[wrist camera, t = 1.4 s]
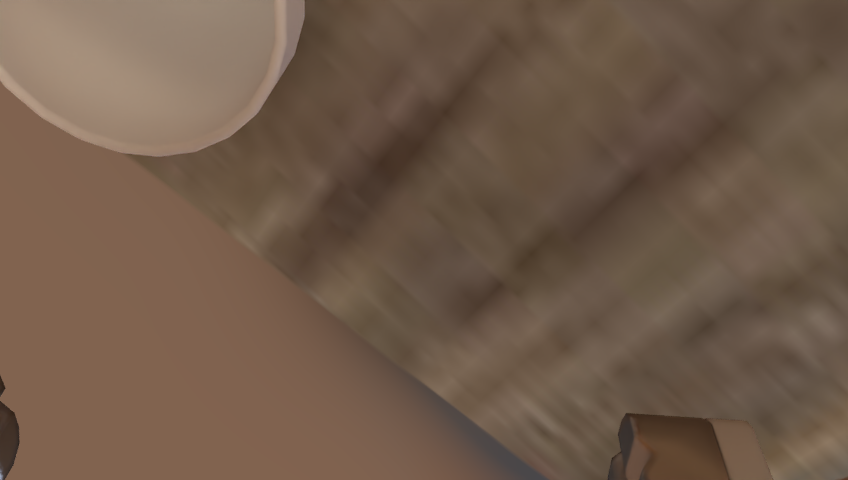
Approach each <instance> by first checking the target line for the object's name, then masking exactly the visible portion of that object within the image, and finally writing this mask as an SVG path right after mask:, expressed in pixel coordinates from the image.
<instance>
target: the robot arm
mask: <svg viewBox="0 0 848 480" xmlns="http://www.w3.org/2000/svg"><path fill="white" fill-rule="evenodd" d="M4 390H5V386H4V383H3V381H2V379H1V376H0V396H1V395H2V393H3V391H4ZM618 436H619V442H620V448H621V452H620V453H618V454H617V455H615V456H614V457H613V458H612V460H611V465H610V469H609V474H608V480H773V478H772V475H771V473H770V470H769V467H768V465H767V462H766V460H765V457H764V455H763V452H762V450H761V447H760V445H759V442H758V439H757V437H756V434H755V432H754V429H753V427H752V426H751V425H750V424H749V423H748V422H747V421H743V420H727V419H711V418H706V419H703V418H695V417H680V416H664V415H649V414H633V413H626V414H625V416H624V417H623V419H622V421H621V425H620V429H619V432H618ZM18 446H19V426H18V423H17V420H16V417H15V414H14V412H13V411H11V410H10V409H9V408H8V407H7V406H5V405H4V404H3V403H2V402H1V401H0V480H5V478H6V476H7V475H8V473H9V471H10V470H11V468H12V466H13V464H14V460H15V457H16V454H17V450H18Z"/></svg>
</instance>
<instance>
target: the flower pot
mask: <svg viewBox="0 0 848 480" xmlns="http://www.w3.org/2000/svg"><path fill="white" fill-rule="evenodd" d="M304 18H305V1H304V0H0V81H1V82H2V84H3V85H4V86H5V87H6V88H7V89H8V90H9V91H10V92H12V93H13V94H14V95H15V96H16V97H17V98H19V99H20V100H21V101H22V102H23V103H24V104H26V105H27V106H28V107H29V108H30V109H32V110H33V111H34V112H35V113H36V114H37V115H39V116H40V117H41V118H43V119H45V120H46V121H48V122H50V123H52V124H53V125H55V126H57V127H59V128H60V129H62V130H64V131H65V132H67V133H69V134H71V135H73V136H74V137H76V138H78V139H80V140H83V141H86V142H89V143H92V144H95V145H98V146H101V147H104V148H107V149H110V150H113V151H116V152H119V153H127V154H137V155H146V156H155V157H161V156H168V155H176V154H183V153H191V152H196V151H199V150H201V149H203V148H206V147H208V146H210V145H213V144H215V143H217V142H220V141H222V140H224V139H227V138H229V137H231V136H232V135H233V134H234V133H235V132H236V131H238V130H239V129H240V128H241V127H242V126H243V125H245V124H246V123H247V122H248V121H249V120H250V119H252V118H253V117H254V116H255V115H256V114H258V112H259V111H260V109H261V107H262V106H263V104H264V103H265V101H266V99H267V98H268V96H269V94H270V93H271V91H272V90H273V88H274V86H275V85H276V84H277V82H278V80H279V79H280V77H281V76H282V74H283V72H284V71H285V69H286V68H287V66H288V64H289V63H290V61H291V60H292V58H293V56H294V55H295V51H296V48H297V44H298V40H299V36H300V33H301V29H302V25H303V22H304Z"/></svg>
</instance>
